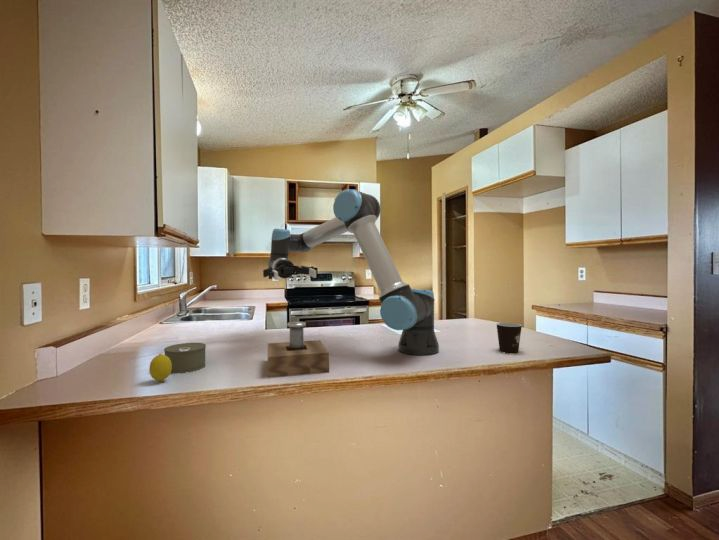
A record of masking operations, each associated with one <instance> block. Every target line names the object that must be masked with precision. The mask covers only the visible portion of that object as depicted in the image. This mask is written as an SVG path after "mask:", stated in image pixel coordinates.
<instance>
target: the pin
mask: <svg viewBox="0 0 719 540" xmlns="http://www.w3.org/2000/svg"><path fill="white" fill-rule="evenodd" d="M306 324H307V323H306V321H289V322H287V324H286V325H287V328H289V342H290V351H293V350H304V341H305V340H304V339H305V338H304V335H305V334H304V328H305V327H306V326H307V325H306Z"/></svg>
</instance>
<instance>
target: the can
mask: <svg viewBox="0 0 719 540" xmlns="http://www.w3.org/2000/svg"><path fill="white" fill-rule="evenodd" d="M206 347H207V345H206V344H205V343H203V342H185V343H177V344H173V345H169V346H166V347H165V348H164V349H163V351H164V355H166V356H167V357H169V358H170V360H171V363H172V370H171V373H170V374H173V373H180V374H187V373H186V372H189V373H194V372H196V371H197V370H198V371H201V370H203V369H204V368H205V367H206ZM202 368H203V369H202ZM200 369H201V370H200ZM193 371H194V372H193ZM198 371H197V372H198Z"/></svg>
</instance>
